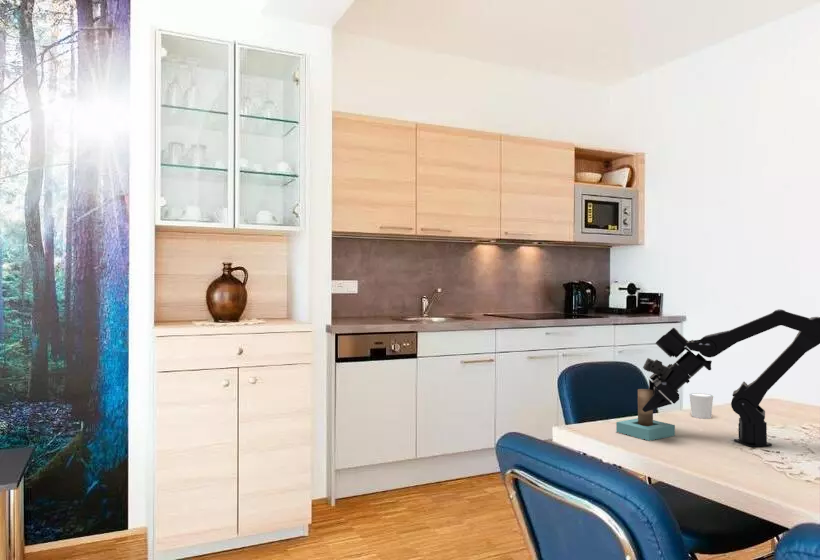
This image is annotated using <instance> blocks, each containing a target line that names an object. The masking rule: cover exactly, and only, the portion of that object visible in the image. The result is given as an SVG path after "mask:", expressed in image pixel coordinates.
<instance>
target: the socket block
mask: <svg viewBox="0 0 820 560" xmlns="http://www.w3.org/2000/svg"><path fill="white" fill-rule="evenodd" d="M615 424H616V433H617V432H619V433H618V434H620V433H623V434H622V435H624V434H627V435H626V436H628V435H631V436H630V437H632V436H634V437H633V438H636V437H637V438H636V439H639V438H641V439H640V440H643V439H645V440H644V441H647V440H648V441H647V442H650V440H651V441H655V439H656V440H661V439H665V438H671V437H675V436H676V429H675V428H676V425H675V424H672V423H667V422H664V421H658V420H656V419H655V420H654V419H653V426H642V425H638V417H637V418H631V419H626V420H620V421H616V422H615Z"/></svg>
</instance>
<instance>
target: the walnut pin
mask: <svg viewBox="0 0 820 560" xmlns="http://www.w3.org/2000/svg"><path fill="white" fill-rule="evenodd" d="M652 395H653V390H650V389H648V388H638V389H637V418H638V425H642V426H653V420H654V409H653V410H650V411H647V412H644V411H643V410H642V408H643V407H644V406H645V404H646V403H647V402H648V401H649V399H650V398H651V397H652Z"/></svg>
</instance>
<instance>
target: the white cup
mask: <svg viewBox="0 0 820 560" xmlns="http://www.w3.org/2000/svg"><path fill="white" fill-rule="evenodd" d="M713 400H714V396H713V395H712V394H707V393H701V392H699V393H697V392H696V393H693V392H692V393H689V402H690V411H691V417H692V418H697V419H711V418H712V413H713V405H714V404H713V402H714V401H713Z"/></svg>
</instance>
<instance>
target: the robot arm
mask: <svg viewBox="0 0 820 560" xmlns="http://www.w3.org/2000/svg"><path fill="white" fill-rule="evenodd" d="M780 326H782V327H786V328H789V329H792V330H795V331H798V333H797V334H796V336H795V337H794V339H793V340H792V342H791V343H790V344H789V345H788V346H787V347H786V348H785V349H784V350H783V351H782V353H781V354H780V355H778V356H777V357H776V358H775V360H773V362H771V364H769V366H768V367H767V368H765V370H764V371H763V372H762V373H761V374H760V375H759V376H758V377H757V378H756V379H755V380H753V381H752V382H751V383H749V384H748V383H747V382H745V381H742V383H741V384H740V386H739V387H738V388H737V389H735V390H733V393H732V394H731V395H732V400H731V402H730V406H731V409H732V411H733V412H734V413H735V414H736V415H738V416H739V418H738V438H734V439H733V441H734V442H736V443H739V444H742V445H745V446H748V447H752V448H754V447H755V448H757V447H771V446H773V443H771V442H768V438H767V437H768V435H767V434H768V433H767V429H768V424H767V423H768V422H766V420H765V419H766V410H765V409H764V408H763V407H761V406H760V403H761V402H762V400H763V399H764V397H765V396H766V394H767V393H768V391H769V390H770V389H771V388H772V387H773V386H774V385H776V383H777V382H778V381H779V380H780V379H781V378H782V377H783V376H784V375H785V374H786V373H788V371H789V370H790V369H791V368H792V367H793V366H794V365H795V364H796V363H797V362H798V361H799V360H800V359H801V358H802V357H803V356H804V355H806V354H807V352H809V351H811V350H812V349H814V348H815V347H817V346H819V345H820V317H819V316H812V317H806V316H803V315H800V314H795V313H792V312H789V311H786V310H784V309H775V310H774V311H773V312H771V313H768V314H766V315H763V316H760V317H758V318H756V319H753V320H751V321H749V322H747V323H744V324H742V325H739V326H737V327H734V328H732V329H730V330H725V331H718V332H714V333H711V334H707V335H705V336H702V338H700V339H696V340H694V339H691V340H688V339H687V338H685V337H684V336H683V335H682V334H681V333H680V331H678V329H677V328H675V327H672V328H671V329H670V330H668V332H666V333H665V334H663V335H662V336H661V337H660V338H659V339H658V340H657V341H656V342H655V343H654V344H655V345H657V347H658V348H660V349H661V351H663V352H664V354H666V355H667V356H668V358H672V357H673V358H674V357H675V358H678V359H677V360H676V361H675V362H674V363H673V364H672V363H669V364H668V365H664V364H663V362H662V361H660V360H658V359H655V360H654V359H652V358H649V357H647V359H646V361H645V363H644V365H643V366H642V368H643V370H645V371H646V372H648V373H652V374H651V375H650V376H649V379H648V388H647V389H650V390H653V395H652V397H651V398H650V399H649V401H648V402H647V403H646V404H645V406H644V407H643V408H642V410H643V411H644V412H647V411H650V410H653V411H654V410H656V409H659V408H663V407H666V406H670V405H672V404H674V405H675V404H677V402H678V401H679V400H680V393H679V389H680V388H681V387H683V386H684V385H685V384H689V383H690V382H691V381H690V379H692V378H693V376H695V375H696V374H697V373H699V372H700V370H702V369H703V368H706V370H707V371H712V360H707V359H706V358H714V357H716V356H718V355H720V354H721V353H723V352H725V351H726V350H727V349H729V348H730V347H733V346H734V345H735V344H737V343H739V342H742V341H744V340H747V339H749V338H752V337H754V336H757V335H759V334H763V333H764V332H767V331H770V330H771V329H772V330H773V328H774V329H775V328H777V327H780ZM685 351H686V352H685ZM684 352H685V353H684ZM693 352H698V353H697V354H696V353H695V354H694V353H693ZM680 355H681V357H679V356H680ZM703 356H704V357H703Z"/></svg>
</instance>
